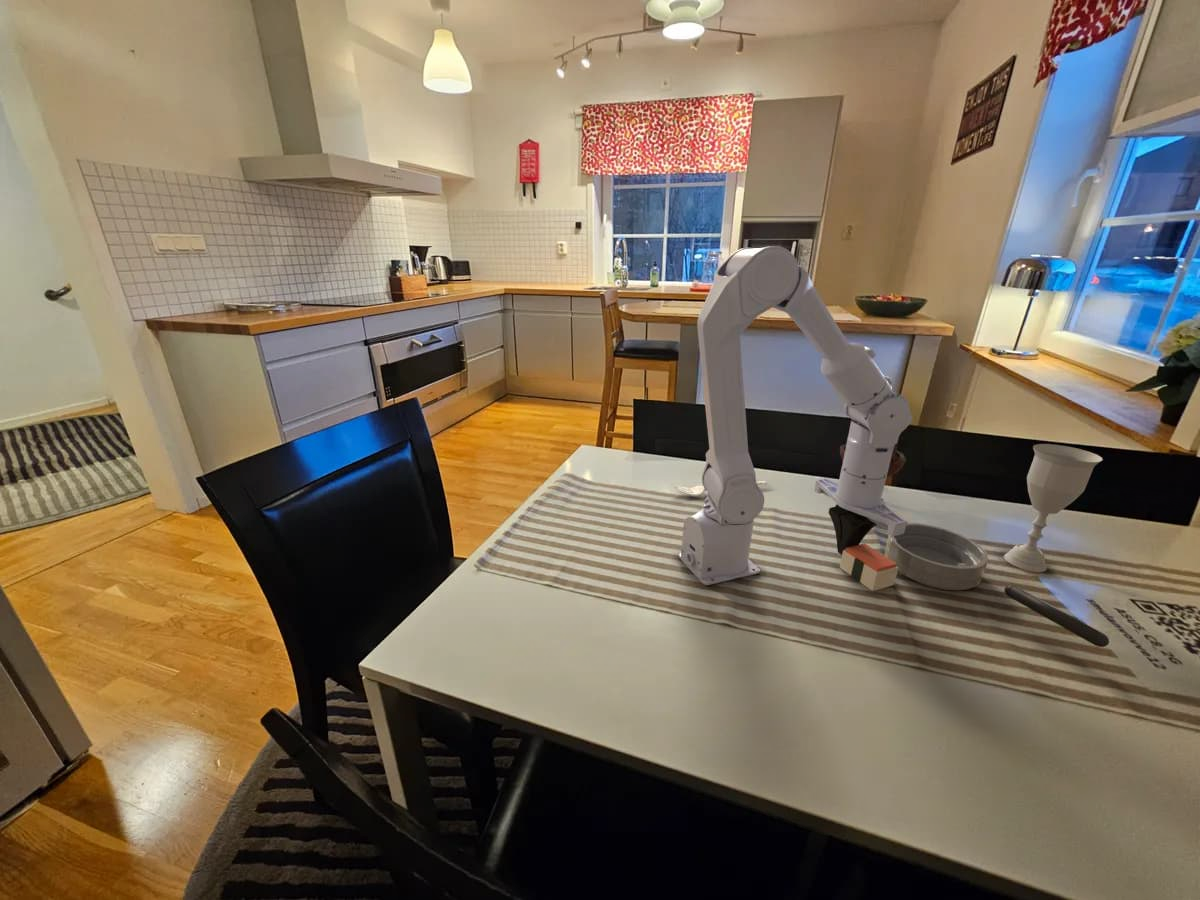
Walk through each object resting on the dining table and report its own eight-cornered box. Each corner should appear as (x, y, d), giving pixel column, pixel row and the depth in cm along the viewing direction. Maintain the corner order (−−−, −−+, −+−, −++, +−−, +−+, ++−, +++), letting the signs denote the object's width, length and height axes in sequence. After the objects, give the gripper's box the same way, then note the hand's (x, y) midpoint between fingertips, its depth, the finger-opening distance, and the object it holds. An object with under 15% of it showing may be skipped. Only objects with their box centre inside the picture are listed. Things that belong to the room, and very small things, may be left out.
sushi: (872, 591, 68) (877, 570, 67) (838, 567, 73) (843, 547, 72) (894, 585, 69) (899, 564, 68) (859, 562, 74) (864, 542, 73)
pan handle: (1100, 651, 54) (1106, 640, 54) (999, 594, 64) (1003, 584, 63) (1109, 648, 55) (1114, 636, 54) (1008, 591, 64) (1011, 581, 64)
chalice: (999, 567, 73) (1039, 455, 67) (991, 545, 79) (1027, 440, 73) (1062, 581, 70) (1111, 466, 64) (1049, 557, 76) (1092, 449, 69)
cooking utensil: (770, 488, 98) (771, 480, 97) (676, 498, 93) (676, 489, 93) (761, 482, 101) (762, 473, 100) (670, 491, 96) (670, 482, 96)
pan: (938, 600, 66) (946, 575, 65) (865, 553, 77) (870, 530, 75) (1000, 582, 70) (1008, 558, 69) (921, 539, 81) (927, 517, 79)
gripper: (932, 488, 64) (907, 574, 69) (845, 450, 77) (830, 525, 82) (892, 496, 62) (869, 585, 67) (809, 455, 75) (796, 533, 80)
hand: (845, 553), depth 74 cm, fingers closed
